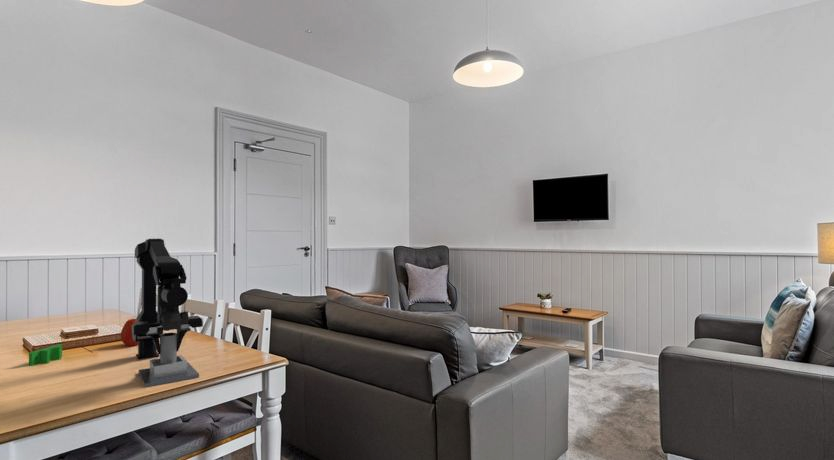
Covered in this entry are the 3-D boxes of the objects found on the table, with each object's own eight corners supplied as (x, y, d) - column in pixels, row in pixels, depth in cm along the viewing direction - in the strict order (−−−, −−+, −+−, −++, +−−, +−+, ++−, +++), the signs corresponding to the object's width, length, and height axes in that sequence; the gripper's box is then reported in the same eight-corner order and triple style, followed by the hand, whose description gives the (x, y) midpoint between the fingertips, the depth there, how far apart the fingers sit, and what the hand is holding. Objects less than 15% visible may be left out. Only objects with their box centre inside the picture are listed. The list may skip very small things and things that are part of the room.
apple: (149, 344, 179) (149, 316, 179) (127, 348, 172) (127, 320, 172) (138, 341, 183) (138, 314, 183) (116, 345, 176) (116, 318, 176)
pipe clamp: (38, 366, 150) (38, 353, 150) (28, 366, 151) (28, 352, 151) (68, 357, 161) (68, 344, 161) (59, 356, 162) (59, 343, 162)
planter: (159, 370, 137) (159, 336, 137) (160, 366, 141) (160, 333, 141) (176, 368, 140) (176, 334, 139) (176, 364, 144) (176, 331, 143)
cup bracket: (138, 373, 142) (138, 358, 142) (187, 364, 151) (187, 351, 151) (145, 387, 130) (145, 371, 130) (199, 377, 138) (199, 362, 138)
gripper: (136, 309, 128) (136, 364, 128) (207, 302, 140) (207, 353, 140) (131, 303, 137) (131, 355, 137) (198, 298, 149) (198, 345, 149)
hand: (168, 352), depth 141 cm, fingers closed on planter, 4 cm apart
